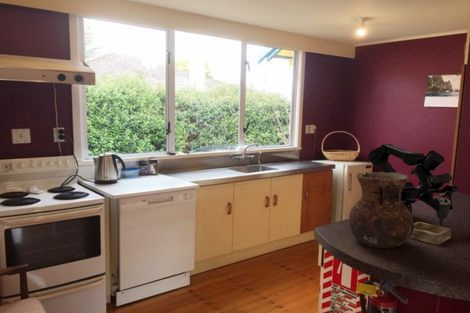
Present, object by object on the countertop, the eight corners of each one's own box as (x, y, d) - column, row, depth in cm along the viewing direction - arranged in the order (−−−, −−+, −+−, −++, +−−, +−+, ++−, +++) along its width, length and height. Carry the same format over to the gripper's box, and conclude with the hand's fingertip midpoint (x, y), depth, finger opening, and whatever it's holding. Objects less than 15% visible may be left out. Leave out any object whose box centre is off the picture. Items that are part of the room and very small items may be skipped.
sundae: (451, 227, 147) (455, 191, 145) (447, 231, 142) (451, 193, 140) (433, 224, 151) (437, 188, 149) (429, 227, 146) (432, 190, 144)
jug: (335, 235, 138) (339, 170, 135) (379, 230, 146) (383, 168, 143) (377, 257, 118) (382, 181, 115) (426, 249, 125) (432, 178, 122)
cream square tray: (404, 236, 139) (404, 227, 139) (417, 230, 147) (418, 221, 146) (437, 245, 130) (438, 235, 129) (450, 238, 138) (451, 229, 137)
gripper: (418, 166, 145) (438, 200, 135) (456, 165, 149) (478, 198, 140) (403, 182, 153) (420, 215, 144) (439, 180, 158) (458, 212, 149)
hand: (444, 209), depth 144 cm, fingers closed on sundae, 6 cm apart
